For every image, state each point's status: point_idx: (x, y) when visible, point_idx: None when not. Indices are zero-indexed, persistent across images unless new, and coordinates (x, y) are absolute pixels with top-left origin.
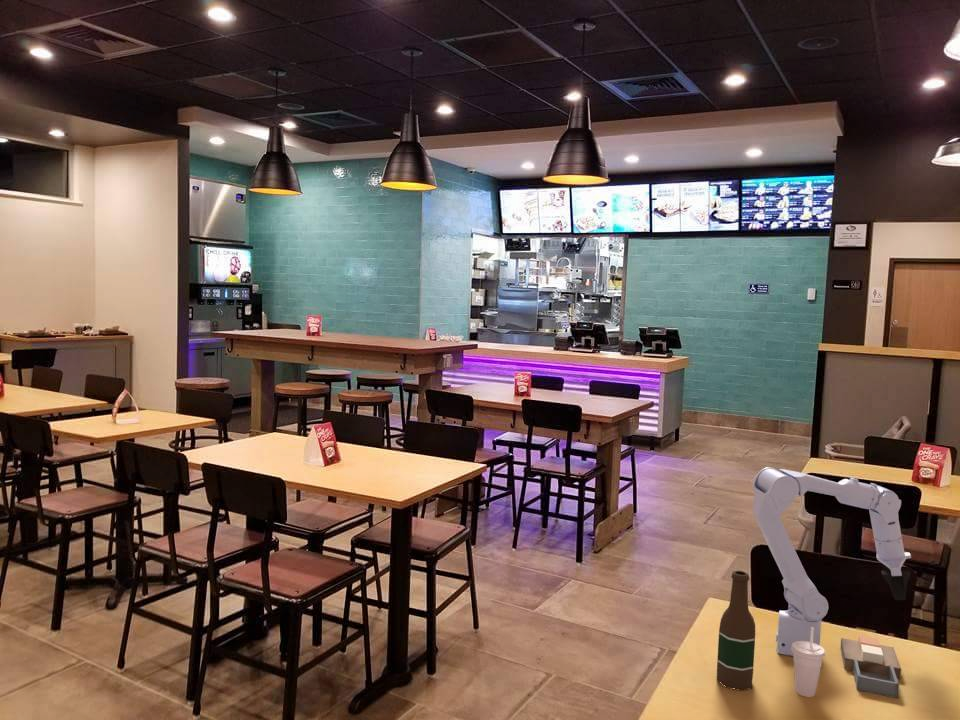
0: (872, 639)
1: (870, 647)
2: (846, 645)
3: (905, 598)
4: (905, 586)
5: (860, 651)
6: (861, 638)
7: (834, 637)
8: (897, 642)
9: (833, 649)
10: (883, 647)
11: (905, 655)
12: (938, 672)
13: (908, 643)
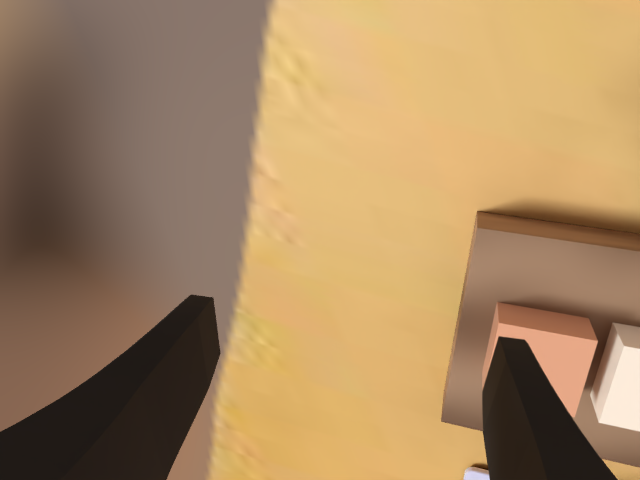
0: None
1: (635, 394)
2: None
3: (526, 346)
4: (612, 477)
5: None
6: None
7: (343, 382)
8: (292, 143)
9: None
10: (494, 276)
11: (430, 145)
12: (596, 30)
13: (283, 94)
